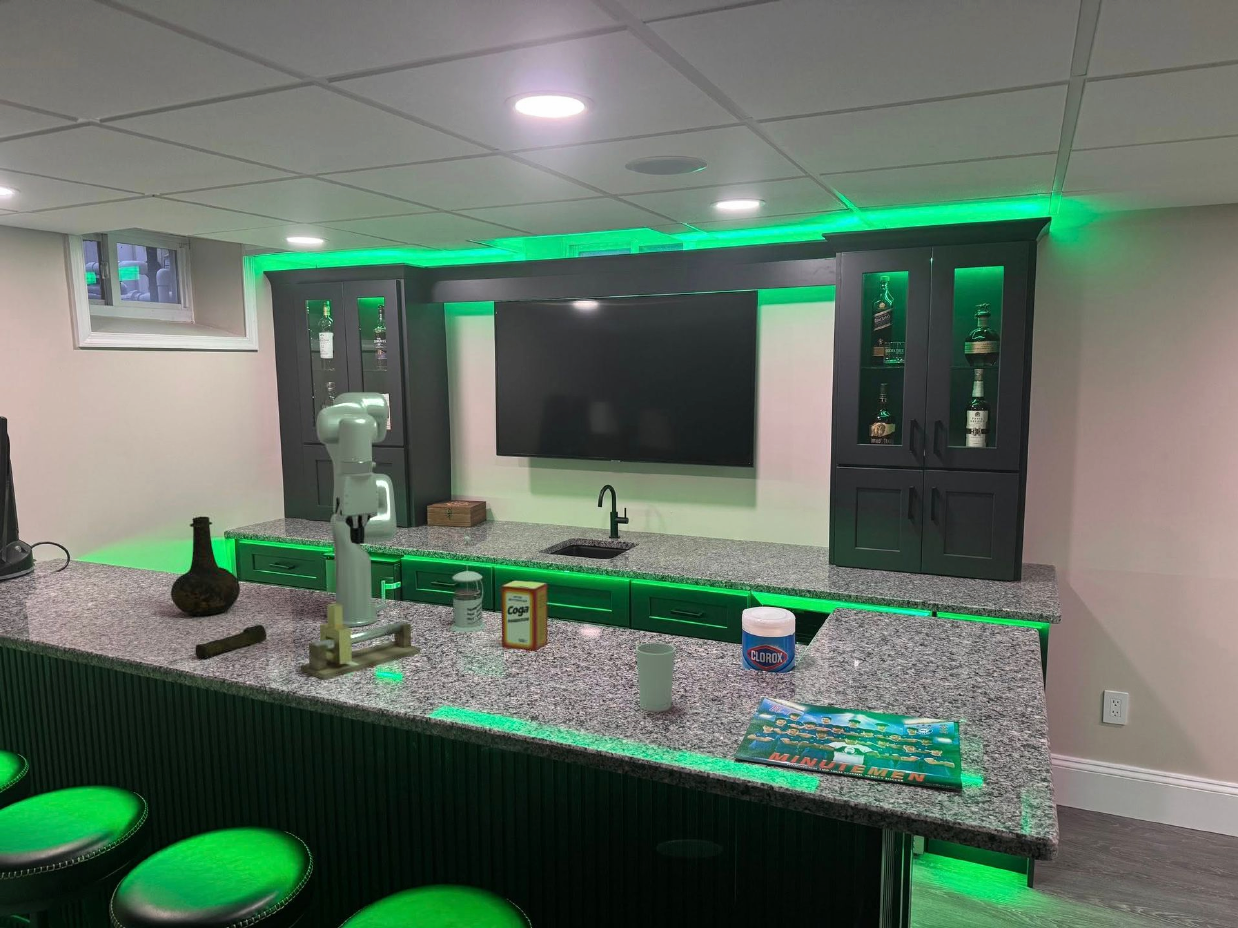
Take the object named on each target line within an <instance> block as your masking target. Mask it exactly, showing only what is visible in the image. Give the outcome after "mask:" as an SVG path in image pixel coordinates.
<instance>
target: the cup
mask: <svg viewBox="0 0 1238 928" xmlns="http://www.w3.org/2000/svg"><path fill="white" fill-rule="evenodd" d="M635 652H636V664H637V677H638V678H637V679H638V690H639V707H640V708H641V710H644V711H647V712H653V713H655V712H657V713H660V712H665V711H668V710H670V709H671V708H672V694H673V693H672V692H673V691H672V689H673V679H674V667H675V657H676V656H675V655H676V647H675V646H673V645H671V644H668V643H663V642H648V643H647V642H645V643H643V644H642V643H641V644H639V645H636V647H635Z"/></svg>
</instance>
